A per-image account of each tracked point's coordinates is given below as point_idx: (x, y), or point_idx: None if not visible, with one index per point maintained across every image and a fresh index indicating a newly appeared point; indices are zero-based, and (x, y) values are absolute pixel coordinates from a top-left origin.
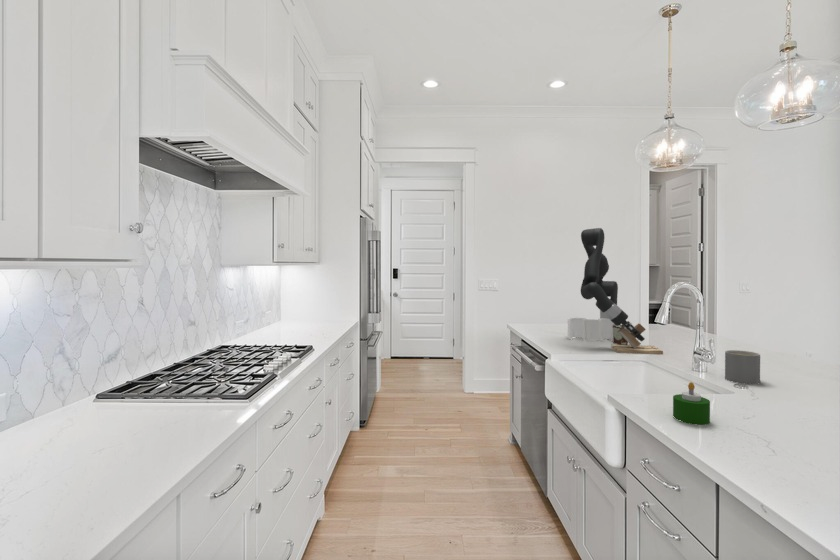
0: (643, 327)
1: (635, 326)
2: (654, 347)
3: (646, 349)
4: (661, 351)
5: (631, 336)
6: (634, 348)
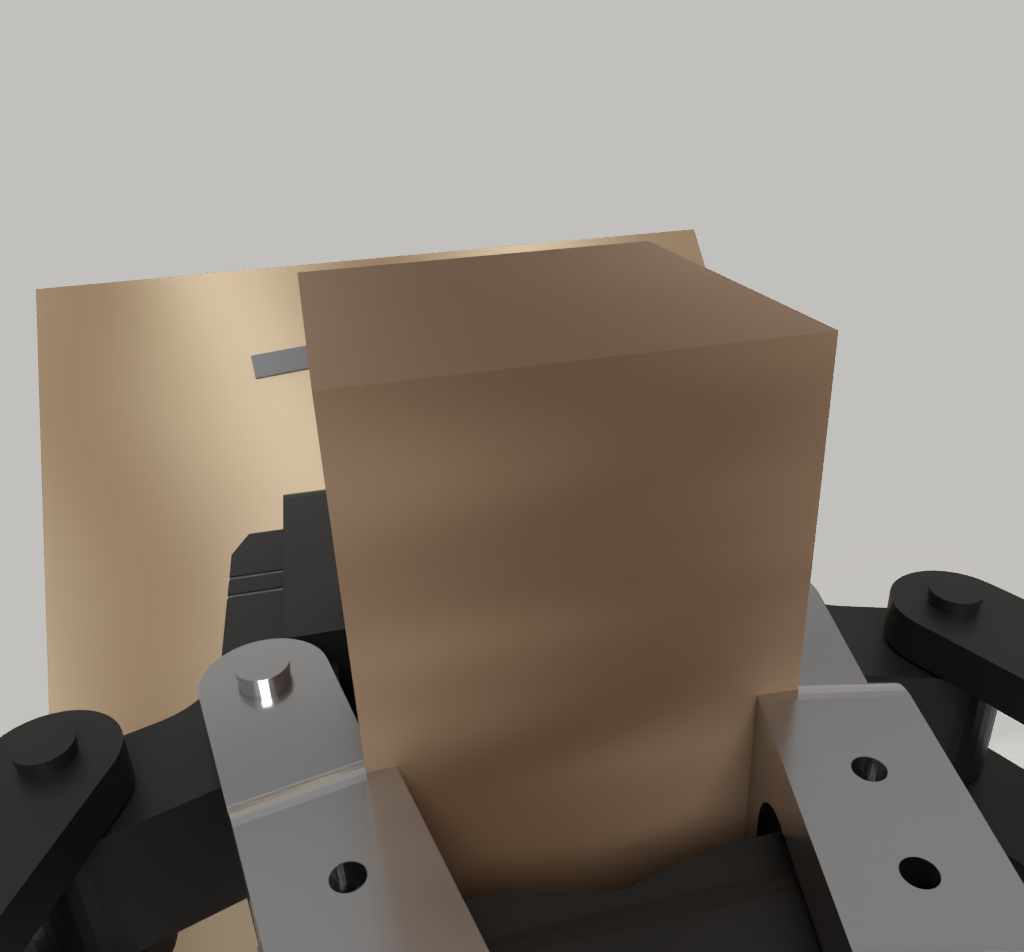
0: (710, 283)
1: (470, 667)
2: (279, 313)
3: None
4: (699, 259)
5: None
6: None
